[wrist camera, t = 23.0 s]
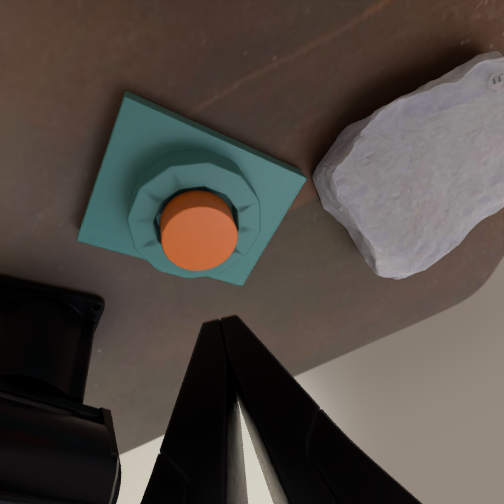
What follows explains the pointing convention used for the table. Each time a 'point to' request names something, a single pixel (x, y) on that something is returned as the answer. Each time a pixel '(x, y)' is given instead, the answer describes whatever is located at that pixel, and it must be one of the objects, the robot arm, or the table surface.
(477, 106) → the stone block
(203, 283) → the table surface
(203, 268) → the button
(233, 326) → the robot arm
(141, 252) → the teal button base
